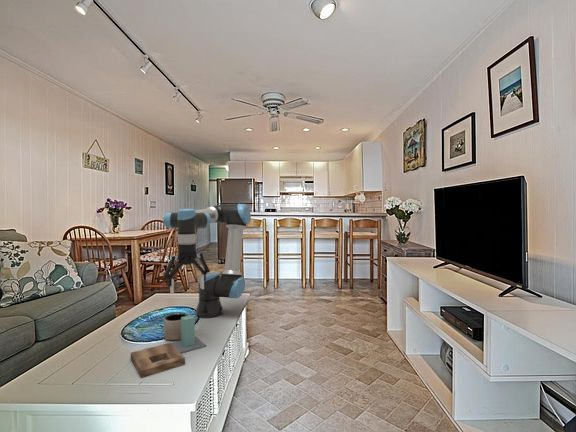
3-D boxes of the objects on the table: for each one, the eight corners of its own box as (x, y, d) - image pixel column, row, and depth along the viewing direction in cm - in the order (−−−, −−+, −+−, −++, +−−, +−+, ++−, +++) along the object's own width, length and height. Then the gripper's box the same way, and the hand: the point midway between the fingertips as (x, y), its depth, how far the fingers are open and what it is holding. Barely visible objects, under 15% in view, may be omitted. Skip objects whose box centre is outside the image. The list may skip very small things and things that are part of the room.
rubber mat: (195, 337, 149) (195, 336, 149) (206, 346, 140) (206, 345, 140) (170, 344, 142) (170, 343, 142) (178, 354, 133) (178, 352, 133)
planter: (158, 338, 148) (158, 318, 148) (176, 330, 158) (176, 311, 158) (175, 343, 143) (175, 322, 143) (192, 334, 153) (192, 315, 153)
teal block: (191, 341, 144) (190, 315, 144) (194, 344, 141) (194, 317, 140) (181, 343, 141) (181, 317, 141) (184, 347, 138) (184, 320, 138)
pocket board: (170, 348, 138) (170, 342, 138) (184, 364, 124) (184, 358, 124) (130, 358, 129) (130, 352, 129) (141, 377, 114) (141, 370, 114)
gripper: (209, 240, 150) (210, 284, 151) (155, 244, 135) (155, 293, 136) (216, 242, 144) (217, 288, 145) (160, 246, 129) (160, 297, 130)
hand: (187, 291), depth 140 cm, fingers open, 13 cm apart
